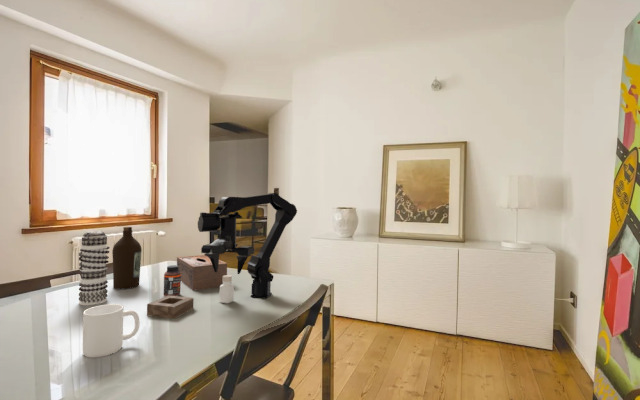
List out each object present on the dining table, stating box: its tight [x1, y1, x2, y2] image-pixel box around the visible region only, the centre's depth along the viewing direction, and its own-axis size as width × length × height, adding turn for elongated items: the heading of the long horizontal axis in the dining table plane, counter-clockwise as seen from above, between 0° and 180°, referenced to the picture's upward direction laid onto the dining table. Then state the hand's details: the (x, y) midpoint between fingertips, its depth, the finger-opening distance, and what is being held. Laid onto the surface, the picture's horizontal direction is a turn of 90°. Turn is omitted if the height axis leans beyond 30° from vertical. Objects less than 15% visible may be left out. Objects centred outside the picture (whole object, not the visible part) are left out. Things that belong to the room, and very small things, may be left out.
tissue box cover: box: [176, 254, 228, 291], centre depth 150 cm, size 26×14×10 cm, turn 37°
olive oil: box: [112, 226, 143, 290], centre depth 139 cm, size 11×11×25 cm
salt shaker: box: [218, 274, 235, 304], centre depth 122 cm, size 4×4×10 cm
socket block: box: [146, 295, 194, 319], centre depth 110 cm, size 10×10×4 cm
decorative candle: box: [78, 230, 110, 306], centre depth 119 cm, size 9×9×25 cm
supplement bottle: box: [163, 264, 182, 297], centre depth 128 cm, size 6×6×11 cm
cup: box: [82, 303, 140, 359], centre depth 83 cm, size 8×12×10 cm
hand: (227, 273), depth 122 cm, fingers open, 9 cm apart
